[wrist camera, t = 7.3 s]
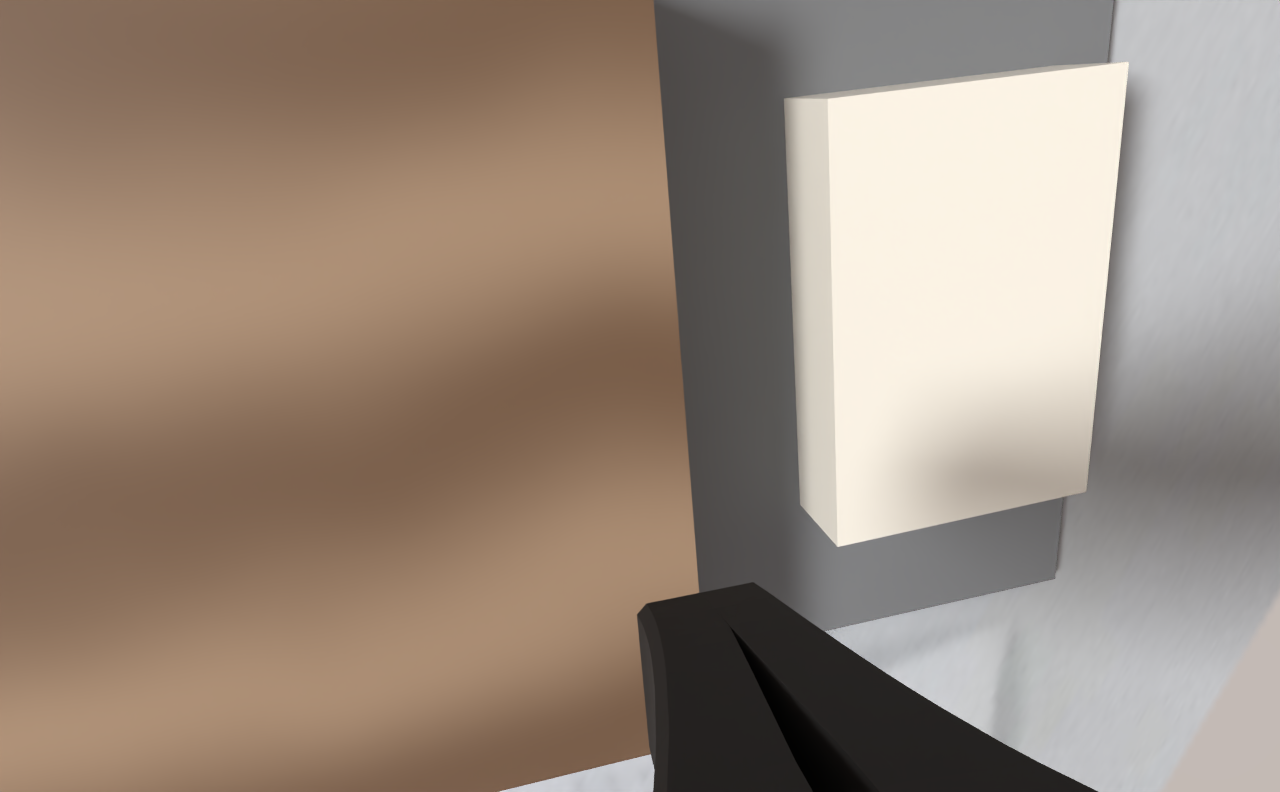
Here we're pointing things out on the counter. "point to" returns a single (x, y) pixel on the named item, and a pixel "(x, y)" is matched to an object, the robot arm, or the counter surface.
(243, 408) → the wooden block
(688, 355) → the mat
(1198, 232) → the counter surface
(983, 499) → the cream sticky note pad
